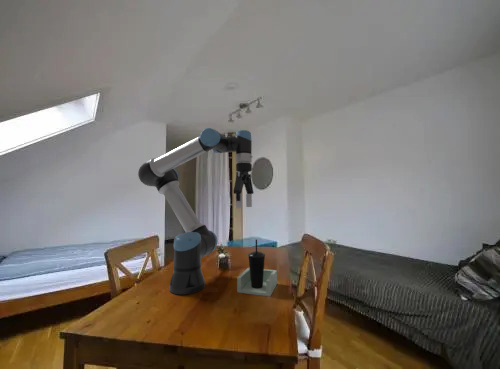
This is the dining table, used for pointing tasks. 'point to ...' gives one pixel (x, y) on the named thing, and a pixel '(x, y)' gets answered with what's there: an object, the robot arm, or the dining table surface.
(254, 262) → the drinking cup
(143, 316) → the dining table surface
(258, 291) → the u rest
